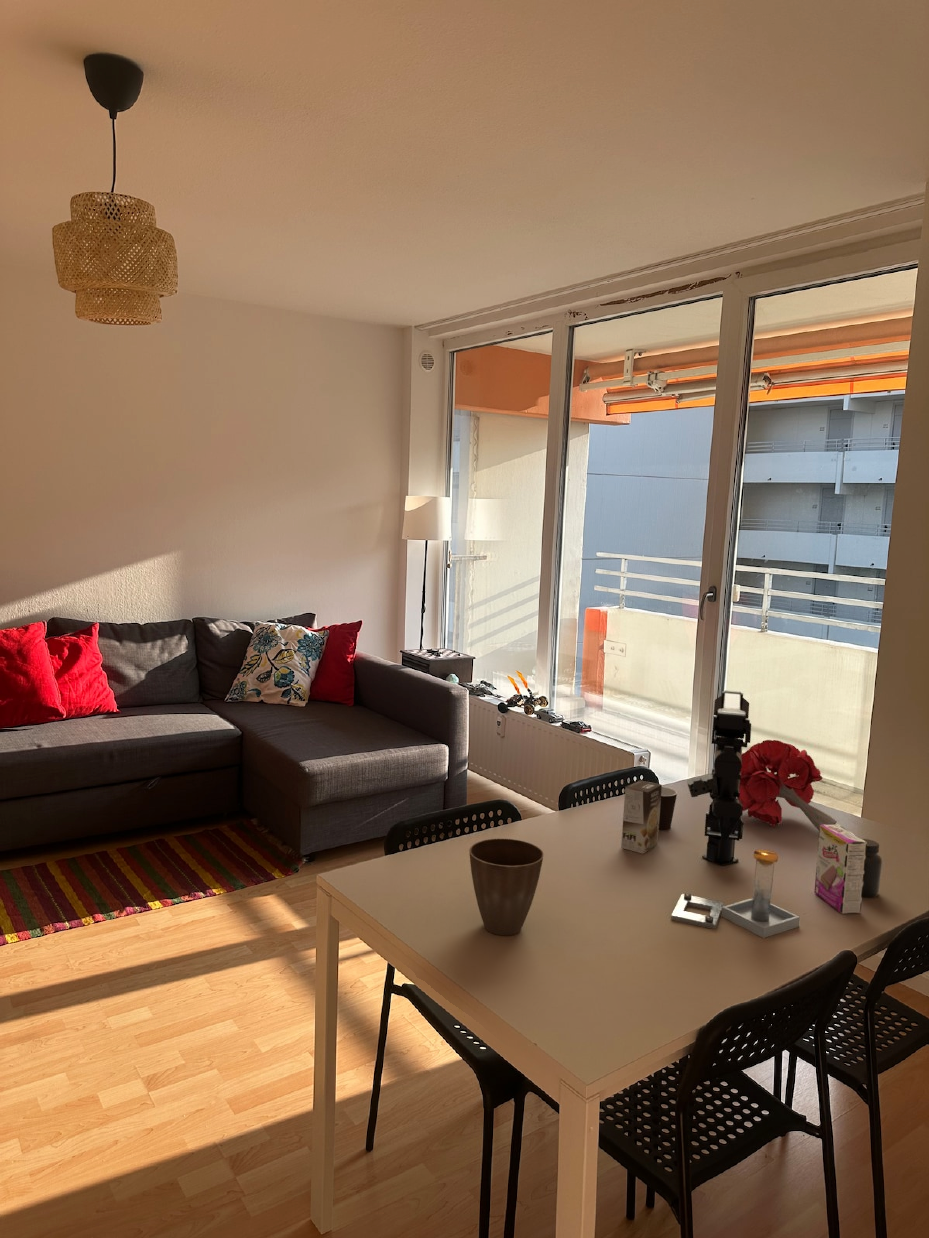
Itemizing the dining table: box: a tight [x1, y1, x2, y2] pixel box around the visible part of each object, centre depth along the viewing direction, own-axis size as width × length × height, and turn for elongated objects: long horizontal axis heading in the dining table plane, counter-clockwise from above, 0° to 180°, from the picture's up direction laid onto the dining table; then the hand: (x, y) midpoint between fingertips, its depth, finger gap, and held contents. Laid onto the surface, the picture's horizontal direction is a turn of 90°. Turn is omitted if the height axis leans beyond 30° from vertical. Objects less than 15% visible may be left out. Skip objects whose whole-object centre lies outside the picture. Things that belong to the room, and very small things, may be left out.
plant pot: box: [468, 838, 545, 936], centre depth 179 cm, size 15×15×16 cm
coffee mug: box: [659, 786, 678, 832], centre depth 244 cm, size 12×9×10 cm
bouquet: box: [736, 739, 837, 832], centre depth 248 cm, size 22×24×30 cm
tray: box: [721, 897, 801, 939], centre depth 187 cm, size 11×11×2 cm
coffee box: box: [620, 779, 663, 854], centre depth 227 cm, size 9×6×16 cm
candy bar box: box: [813, 823, 867, 915], centre depth 197 cm, size 11×5×16 cm, turn 9°
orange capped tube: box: [751, 849, 779, 922], centre depth 187 cm, size 5×5×14 cm
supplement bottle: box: [861, 838, 883, 899], centre depth 204 cm, size 7×7×12 cm
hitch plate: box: [670, 893, 725, 930], centre depth 190 cm, size 12×9×2 cm
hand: (722, 833), depth 202 cm, fingers open, 9 cm apart
